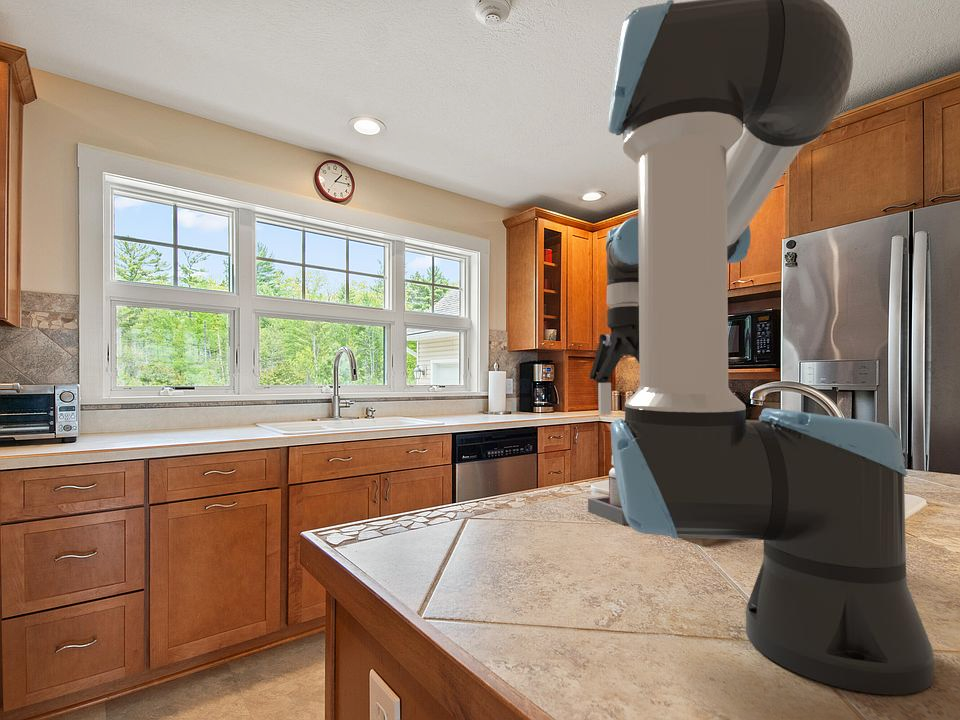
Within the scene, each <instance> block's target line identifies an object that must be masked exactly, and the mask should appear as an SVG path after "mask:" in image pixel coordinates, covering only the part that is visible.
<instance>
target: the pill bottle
mask: <svg viewBox="0 0 960 720" xmlns="http://www.w3.org/2000/svg"><path fill="white" fill-rule="evenodd" d="M611 466H613V467H611V469H610V470H609V471H608V494H609V495H608V496H609V504H611V505H613V506H616V507H619V508H622V506H621V501H620V497H619V492H618V487H617V481H616V475H615V469H614V463H613V455H612V454H611Z"/></svg>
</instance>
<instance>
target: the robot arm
mask: <svg viewBox="0 0 960 720" xmlns="http://www.w3.org/2000/svg"><path fill="white" fill-rule="evenodd" d="M674 1H675V0H667V1H666V2H662V3H658V4H653V5H652V4H651V5H645V6H640V7H637V8H635V9H633V10H632V11H631V12H630V13H629V14H628V15H627V17H626V18H625V20H624V22H623V23H622V27H621V32H620V38H619V42H618V50H617V55H616V60H615V61H616V62H615V69H614V74H613V81H612V82H613V83H612V89H611V97H610V106H609V113H608V125H607V128H608V129H607V130H608V132H609V133H610V134H614V135H616V136H621V135H622V150H623V153H624V154H625V156H627V157H628V158H629V159H630V160H632V162H634V163H635V164H636V165H637V194H638V196H637V202H638V203H637V204H638V205H637V213H638V214H637V216H633V217H630V218H629V219H626V220H625V221H623V223H621V225H618V226H615V227H613V228H611V229H609V230H608V231H607V233H606V243H605V252H606V276H607V277H606V281H607V282H606V305H607V307H609V308H608V310H606V325H607V328H608V329H610V334H605V333H604V334H602V333H601V334H600V335H599V339H598V341H599V342H598V343H599V344H598V347H597V351H596V353H595V357H594V361H593V363H592V368H591V371H590V373H589V378H590V380H593V381H595V383H596V390H597V391H596V392H597V393H596V397H597V398H598V404H597V405H598V416H602V415H603V416H605V415H612V383H611V380H610V378H611V376H612V375H613V374H614V373H613V372H614V370H615V369H616V368H617V366H618V364H619V362H620V361H621V359H622V358H624V357H625V356H632V357H634V358H635V359H636V361H637V363H638V365H639V369H638V370H639V373H638V374H639V387H638V388H637V390H636V391H635V393H633V395H631V396H630V397H629V398H628V399H627V400H626V401H625V402H624V419H623V418H618V419H617V420H615V421H612V422H611V423H610V431H609V432H610V444H611V445H610V446H611V456H612V455H613V463H614V466H613V468H614V469H615V475H616V481H617V487H618V492H619V497H620V501H621V506H622V510H623V513H624V516H625V519H626V521H627V523H628V524H627V525H628V526H629V527H630V528H631V529H632V530H634V531H636V532H638V534H639V533H640V534H644V535H653V536H664V537H671V539H678V538H679V537H695V538H720V539H734V540H750V541H763V559H762V563H761V565H760V569H759V571H758V574H757V577H756V579H755V581H754V584H753V588H752V590H751V594H750V596H749V599H748V602H747V604H746V608H745V609H746V610H745V632H746V635H747V638H748V640H749V641H750V643H751V644H752V645H753V646H754V647H755V648H756V649H757V650H758V651H759V652H760V653H761V654H763V655H764V656H766V657H767V658H769V659H770V660H771V661H773V662H775V663H776V664H778V665H780V666H782V667H783V668H786V669H788V670H790V671H792V672H794V673H796V674H799V675H801V676H803V677H806V678H808V679H812V680H814V681H818V682H820V683H823V684H826V685H830V686H834V687H837V688H841V689H844V690H845V689H846V690H850V691H856V692H859V693H860V692H861V693H867V694H876V695H892V696H893V695H895V696H896V695H909V694H913V693H914V694H915V693H918V692H919V693H920V692H922V691H924V690H925V689H928V688H930V686H931V685H932V684H933V682H934V681H935V664H934V663H935V661H934V660H935V659H934V656H935V655H934V654H935V653H934V650H933V647H932V645H931V642H930V639H929V636H928V635H927V631H926V629H925V627H924V624H923V621H922V619H921V616H920V613H919V611H918V609H917V606H916V604H915V601H914V600H913V597H912V595H911V592H910V589H909V586H908V583H907V580H908V579H907V552H906V551H907V549H906V548H907V547H906V510H905V508H906V505H905V504H906V502H905V498H906V497H905V477H907V476H908V475H907V474H908V473H907V470H906V467H905V459H904V453H903V446H902V445H903V444H902V439H901V437H900V435H899V434H898V432H897V431H896V430H894V428H892V427H891V426H889V425H887V424H884V423H881V422H874V421H868V420H861V419H855V418H847V417H842V416H834V415H825V414H820V413H819V414H818V413H810V412H805V411H795V410H790V409H789V410H786V409H782V408H781V409H779V408H770V407H766V408H763V409H762V411H761V414H760V415H759V416H758V420H759V422H757V421H756V422H755V421H753V422H751V421H750V422H749V421H747V419H746V418H747V416H746V415H747V414H746V412H747V411H746V410H747V409H746V404H745V403H744V402H743V401H742V400H741V399H739V398H738V396H736V395H735V394H734V393H733V392H732V391H731V389H730V386H729V322H728V321H729V316H728V315H729V310H728V309H729V308H728V305H729V302H728V297H729V296H728V294H729V293H728V264H735V263H740V262H743V260H745V258H746V257H747V255H748V250H749V249H750V246H751V239H752V238H751V237H752V236H751V235H752V234H751V228H750V223H752V220H753V219H754V217H755V216H756V215H757V213H758V212H759V210H760V209H761V207H762V206H763V205H764V203H765V202H766V200H767V199H768V197H769V196H770V195H771V193H772V191H773V190H774V189H775V187H776V186H777V184H778V183H779V181H780V180H781V179H782V178H783V176H784V174H785V173H786V171H787V170H788V168H789V167H790V166H791V164H792V163H793V161H794V160H795V158H797V155H798V154H799V152H800V151H801V150H802V149H803V147H804V146H806V145H809V144H811V143H812V142H814V141H815V140H817V139H818V138H820V137H821V136H822V135H823V134H824V132H825V131H826V130H827V128H828V127H829V125H831V123H832V122H833V120H834V119H835V117H836V116H837V114H838V113H839V112H840V109H841V108H842V106H843V103H844V102H845V99H846V97H847V94H848V91H849V89H850V86H851V85H850V84H851V79H852V74H853V67H854V58H853V57H854V56H853V48H852V41H851V37H850V34H849V32H848V29H847V27H846V25H845V23H844V21H843V19H842V18H841V16H840V15H839V13H838V11H836V10H835V8H834V7H833V6H832V5H830V4H829V3H827V2H826V1H825V0H690V1H688V0H687V1H680V2H674Z"/></svg>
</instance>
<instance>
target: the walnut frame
mask: <svg viewBox="0 0 960 720" xmlns="http://www.w3.org/2000/svg"><path fill="white" fill-rule="evenodd" d="M678 538H679V539H682V540H685V541H688V542H690V543H693V544H696V545H698V546H701V547H703V546H709V545H713V544H718V543H723V542H729V541H735V539H720V538H695V537H678Z"/></svg>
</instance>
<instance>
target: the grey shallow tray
mask: <svg viewBox="0 0 960 720" xmlns="http://www.w3.org/2000/svg"><path fill="white" fill-rule="evenodd" d="M587 512H589V513H591V514H594V515H597V516H600V517H602V518H605V519H607V520H610V521H612V522H614V523H618V524H620V525H629V524H628V523H627V521H626V519H625V516H624V513H623V510H622V508H619V507H616V506H613V505H611V504H609V495H606V496H599V497H590V498H587Z"/></svg>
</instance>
